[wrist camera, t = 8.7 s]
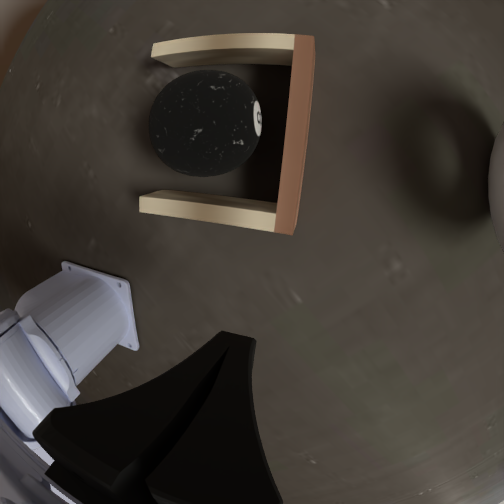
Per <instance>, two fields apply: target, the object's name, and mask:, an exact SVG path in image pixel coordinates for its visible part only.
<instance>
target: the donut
mask: <svg viewBox="0 0 504 504" xmlns="http://www.w3.org/2000/svg"><path fill="white" fill-rule="evenodd" d="M488 198H489V205H490V213H491V219H492V222H493V226H494V229H495V233H496V237H497V240H498V242H499V244H500V246H501V248H502V250H503V252H504V122H503V124H502V126H501V128H500V130H499V133H498V135H497V137H496V139H495V142H494V146H493V149H492V153H491V157H490V166H489V174H488Z"/></svg>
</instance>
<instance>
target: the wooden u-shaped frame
mask: <svg viewBox="0 0 504 504" xmlns="http://www.w3.org/2000/svg"><path fill="white" fill-rule="evenodd" d="M151 57H152V58H154V59H156V60H158V61H160V62H163V63H165V64H167V65H169V66H171V67H173V68H177V67H187V66H199V65H215V64H271V65H287V66H292V72H291V83H290V93H289V103H288V113H287V123H286V132H285V142H284V151H283V160H282V169H281V177H280V186H279V194H278V203H273V202H266V201H259V200H252V199H244V198H237V197H229V196H221V195H212V194H204V193H194V192H185V191H175V190H164V189H163V190H160V191H156V192H153V193H149V194H146V195H143V196H139V205H140V212H144V213H151V214H158V215H166V216H173V217H180V218H187V219H193V220H200V221H207V222H214V223H220V224H227V225H233V226H240V227H246V228H252V229H258V230H265V231H271V232H277V233H283V234H289V235H293V232H294V229H295V226H296V223H297V218H298V211H299V203H300V196H301V189H302V181H303V173H304V165H305V157H306V148H307V139H308V130H309V121H310V111H311V101H312V90H313V78H314V65H315V43H314V36H307V35H295V34H276V33H240V34H221V35H209V36H199V37H191V38H183V39H177V40H171V41H165V42H160V43H154V44H153V49H152V54H151Z"/></svg>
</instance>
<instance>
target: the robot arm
mask: <svg viewBox="0 0 504 504" xmlns="http://www.w3.org/2000/svg"><path fill="white" fill-rule="evenodd" d="M61 265H62V271H61V272H59V273H58V274H56V275H54V276H52V277H51V278H49V279H47V280H46V281H44V282H42V283H40V284H39V285H37V286H36V287H34V288H32V289H31V290H29V291H27V292H26V293H25V294H24V295H23V296H22V297H21V298H20V299H19V301H18V303H17V305H16V307H15V310H14V311H13V310H11V309H9V308H8V309H6V310H4V311H2V312H0V504H69V503H67V502H66V501H65V500H63V499H62V498H60V497H59V496H58V495H56V494H55V493H53V492H52V491H51V488H50V484H51V485H52V486H54V487H55V488H56V489H57V490H59V491H60V492H61V493H62V494H64V495H65V496H66V497H68V498H69V499H70V500H72V501H73V502H75V503H76V504H283V500H282V498H281V495H280V493H279V491H278V489H277V486H276V484H275V482H274V479H273V477H272V474H271V471H270V468H269V466H268V463H267V460H266V456H265V453H264V450H263V446H262V443H261V439H260V435H259V431H258V426H257V421H256V416H255V410H254V403H253V393H252V368H253V361H254V354H255V347H256V340H255V339H254V338H251V337H247V336H242V335H238V334H234V333H230V332H225V331H221V332H219V333H218V334H217V335H215V336H214V337H213V338H212V339H211V340H210V341H208V342H207V343H206V344H205V345H203V346H202V347H201V348H200V349H198V350H197V351H196V352H194V353H193V354H192V355H190V356H189V357H188V358H186V359H185V360H184V361H182V362H181V363H179V364H178V365H176V366H174V367H173V368H171V369H170V370H168V371H167V372H165V373H163V374H162V375H160V376H158V377H156V378H154V379H152V380H151V381H149V382H147V383H144V384H142V385H140V386H138V387H136V388H133V389H131V390H128V391H126V392H124V393H121V394H118V395H115V396H112V397H109V398H105V399H102V400H98V401H94V402H90V403H86V404H81V405H77V404H76V402H75V401H74V400H75V399H76V398H77V396H78V395H79V394H80V392H79V390H78V389H77V387H76V386H77V385H78V384H79V383H80V382H81V381H82V380H83V379H84V378H85V377H86V376H87V375H88V374H89V373H90V371H91V370H92V369H93V368H94V367H95V366H96V365H97V364H98V363H99V362H100V361H101V360H102V359H103V358H104V357H105V356H106V355H107V354H108V353H109V352H110V351H111V350H112V349H113V348H114V347H115V346H116V345H117V344H120V345H122V346H125V347H127V348H130V349H132V350H135V351H137V350H138V349H139V343H138V337H137V331H136V326H135V319H134V313H133V306H132V298H131V290H130V284H129V282H128V281H127V280H125V279H122V278H119V277H115V276H112V275H108V274H105V273H102V272H99V271H95V270H92V269H89V268H86V267H83V266H80V265H77V264H74V263H70V262H67V261H63V262H62V264H61ZM40 447H42V448H43V449H44V450H45V451H46V452H47V453H48V454H49V455H50V456H51V457H52V458H53V459H54V460H55V461H54V462H53V463H52V464H51V466H49V465H48V464H47V463H46V462H45V461H43V460H42V459H41V458H40V457H39V456H38V455H37V454H36V453H34V452H33V450H35V449H37V448H40Z"/></svg>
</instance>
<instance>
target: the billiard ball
mask: <svg viewBox="0 0 504 504" xmlns="http://www.w3.org/2000/svg"><path fill="white" fill-rule="evenodd" d="M261 127H262V117H261V110H260V106H259V103H258V101H257V98H256V96H255V94H254V93H253V91H252V90H251V88H250V87H249V86H248V85H247V84H246V83H245V82H244V81H243V80H241V79H240V78H238V77H236V76H234V75H232V74H229V73H226V72H222V71H216V70H200V71H194V72H190V73H187V74H184V75H182V76H180V77H178V78H176V79H174V80H173V81H171V82H170V83H169V84H168V85H166V86H165V87H164V88H163V89H162V91H161V92H160V93H159V94H158V96H157V98H156V99H155V101H154V103H153V106H152V109H151V112H150V117H149V134H150V139H151V142H152V145H153V147H154V149H155V151H156V153H157V155H158V156H159V157H160V159H161V160H162V161H163V162H164V163H165V164H166V165H167V166H169V167H170V168H172V169H173V170H175V171H177V172H180V173H182V174H186V175H190V176H198V177H208V176H216V175H220V174H224V173H227V172H229V171H232V170H234V169H236V168H237V167H239V166H240V165H242V164H243V163H244V162H245V161H246V160H247V159H248V158H249V157H250V156H251V155H252V153H253V152H254V150H255V148H256V146H257V144H258V141H259V138H260V134H261Z"/></svg>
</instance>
